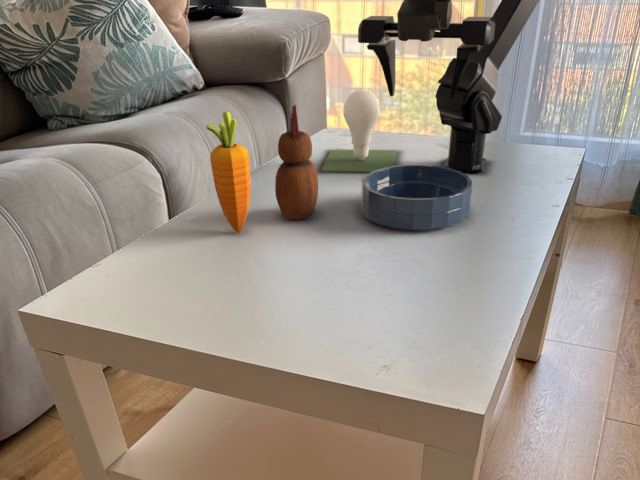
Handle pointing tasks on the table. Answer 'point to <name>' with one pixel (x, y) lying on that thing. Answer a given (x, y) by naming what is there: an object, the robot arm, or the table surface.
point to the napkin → (358, 161)
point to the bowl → (416, 196)
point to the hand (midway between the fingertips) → (421, 97)
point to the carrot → (231, 173)
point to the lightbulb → (361, 120)
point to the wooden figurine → (296, 173)
